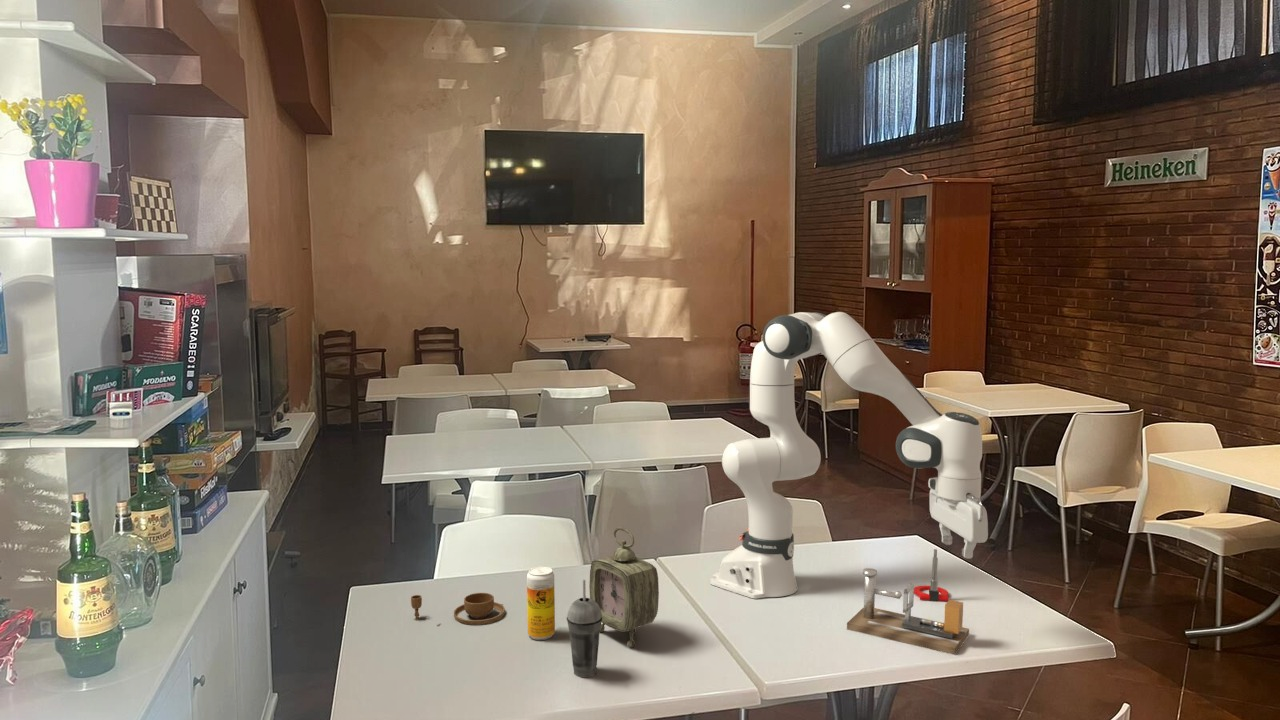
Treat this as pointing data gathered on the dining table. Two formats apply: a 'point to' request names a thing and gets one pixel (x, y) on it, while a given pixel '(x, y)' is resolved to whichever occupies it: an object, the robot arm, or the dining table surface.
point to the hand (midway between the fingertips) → (956, 550)
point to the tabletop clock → (624, 589)
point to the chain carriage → (945, 629)
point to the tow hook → (932, 586)
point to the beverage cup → (584, 634)
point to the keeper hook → (873, 593)
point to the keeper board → (904, 631)
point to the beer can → (540, 603)
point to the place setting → (469, 608)
